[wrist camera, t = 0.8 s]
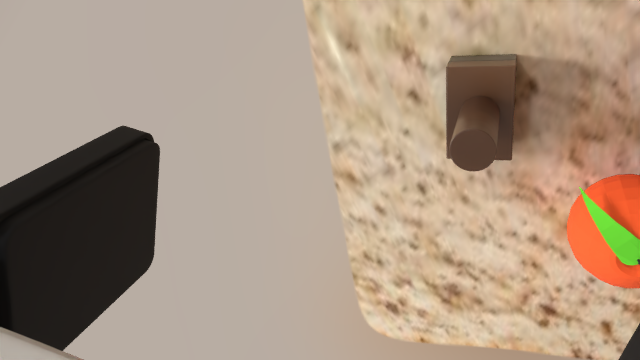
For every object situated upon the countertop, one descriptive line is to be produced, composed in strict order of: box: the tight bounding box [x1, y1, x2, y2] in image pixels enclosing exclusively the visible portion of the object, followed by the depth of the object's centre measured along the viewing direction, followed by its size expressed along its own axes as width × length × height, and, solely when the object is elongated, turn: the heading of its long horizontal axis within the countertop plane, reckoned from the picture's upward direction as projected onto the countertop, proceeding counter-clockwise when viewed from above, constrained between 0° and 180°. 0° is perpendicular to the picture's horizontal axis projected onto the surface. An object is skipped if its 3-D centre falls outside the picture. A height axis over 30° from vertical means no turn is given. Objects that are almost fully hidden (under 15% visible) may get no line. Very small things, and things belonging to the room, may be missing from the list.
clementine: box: [567, 174, 640, 288], centre depth 34 cm, size 8×7×7 cm
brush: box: [446, 54, 516, 171], centre depth 33 cm, size 6×4×9 cm, turn 6°
